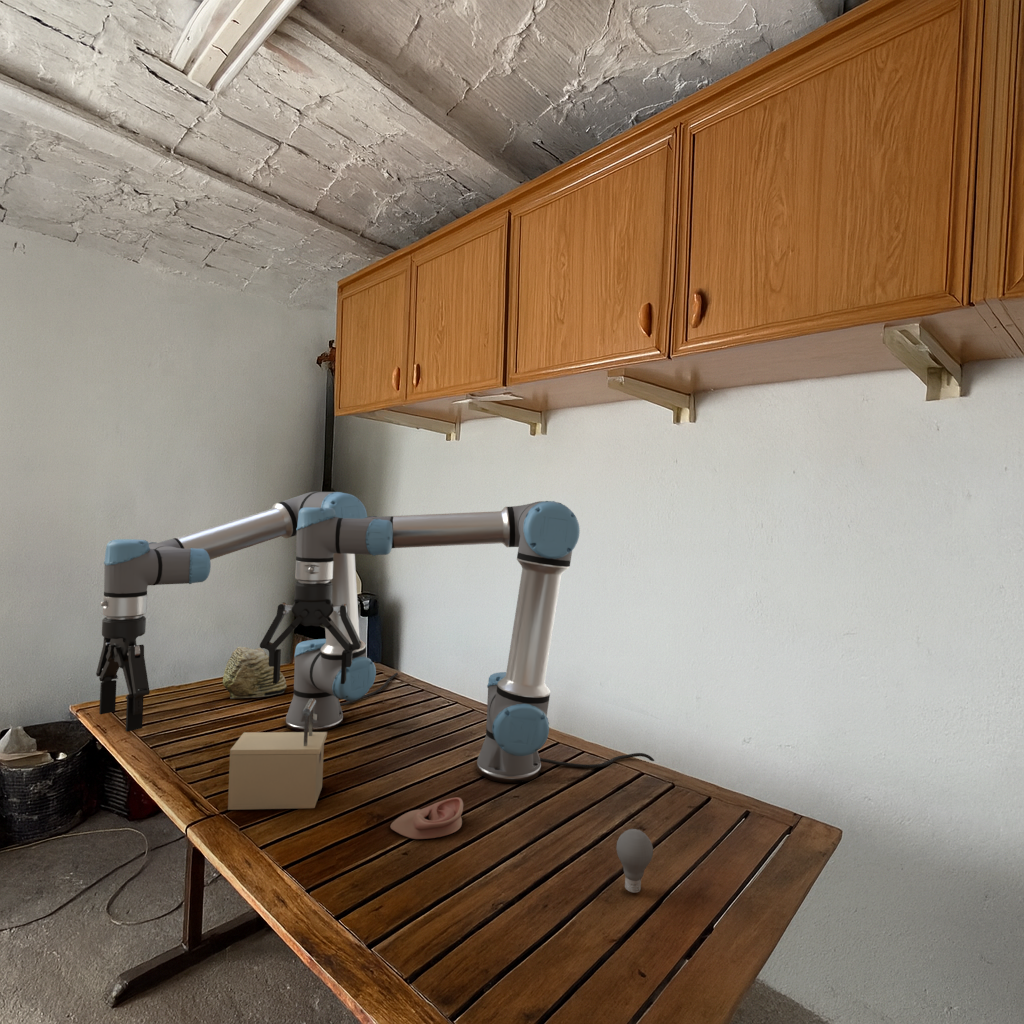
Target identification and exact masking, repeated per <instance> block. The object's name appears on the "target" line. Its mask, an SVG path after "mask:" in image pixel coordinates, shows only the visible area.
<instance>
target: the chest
mask: <svg viewBox="0 0 1024 1024" xmlns="http://www.w3.org/2000/svg"><path fill="white" fill-rule="evenodd" d="M324 750H325V744H324V745H323V747H322V749H321V752H320V754H258V755H230V754H229V767H228V768H229V769H228V770H229V771H228V796H227V810H228V811H229V810H230V811H236V810H237V811H238V810H239V811H241V810H287V809H288V810H291V809H292V810H293V809H296V810H297V809H315V808H316V805H317V802H318V799H319V797H320V794H321V791H322V788H323V781H324V780H323V778H324V777H323V776H324Z"/></svg>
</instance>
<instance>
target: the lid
mask: <svg viewBox="0 0 1024 1024" xmlns="http://www.w3.org/2000/svg"><path fill="white" fill-rule="evenodd" d="M315 704H316V700H315V699H313V698H312V699H310V700H309V701H308V703H307V704H306V706H305V708H304V709H303V711H302V714H303V716H305V721H304V732H301V731H270V732H269V731H267V732H266V731H265V732H263V731H262V732H261V731H260V732H259V731H256V732H254V731H253V732H252V731H251V732H245V731H244V732H243V733H242V734H241V735H240V737H239V738H237V740H236V742H235V743H234V744H233V746H232V747H231V748H230V749H229V756H230V755H258V754H320V752H321V749H322V747H323V745H324V746H325V742H326V740H327V738H328V731H318V732H313V708H314V706H315ZM308 720H309V732H308Z"/></svg>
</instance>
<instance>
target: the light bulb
mask: <svg viewBox="0 0 1024 1024" xmlns="http://www.w3.org/2000/svg"><path fill="white" fill-rule="evenodd" d="M615 849H616V854H617V857H618V859H619V861H620V863H621V865H622V867H623V873H624V874H623V875H624V876H625V878H624V888H625V890H627V891H628V892H630V893H634V894H635V893H639V892H640V891H641V889H642V887H641V886H642V879H643V877H644V875H645V871H646V868H647V867H648V866H649V864H650V863H651V861H652V859H653V855H654V847H653V843H652V841H651V838H649V836H648V835H647V834H646V833H645V832H643V831H642V830H641V829H636V828H629V829H627V830H625V831H623V832H622V833H621V834H620V835H619V837H618V839H617V841H616V847H615Z"/></svg>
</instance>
